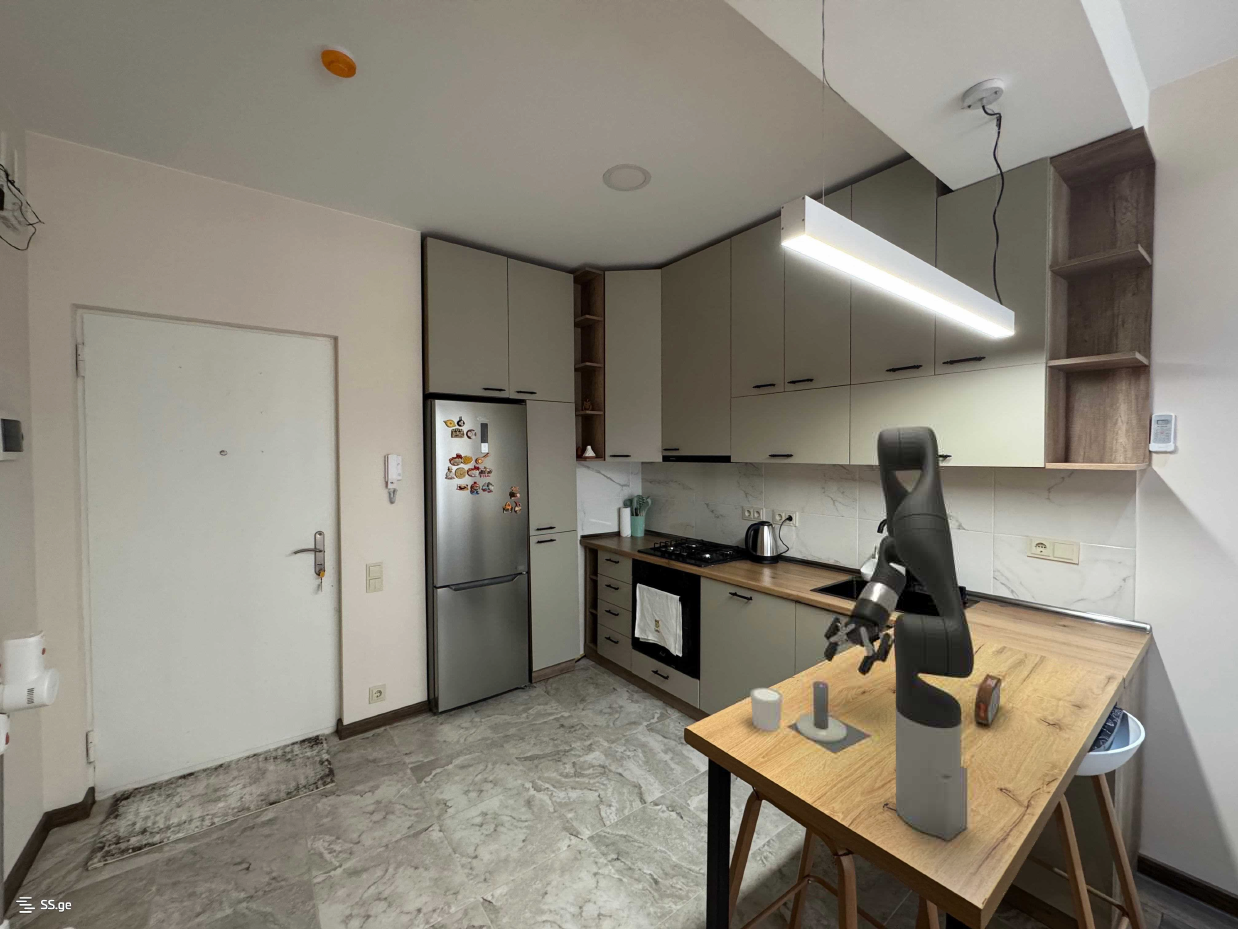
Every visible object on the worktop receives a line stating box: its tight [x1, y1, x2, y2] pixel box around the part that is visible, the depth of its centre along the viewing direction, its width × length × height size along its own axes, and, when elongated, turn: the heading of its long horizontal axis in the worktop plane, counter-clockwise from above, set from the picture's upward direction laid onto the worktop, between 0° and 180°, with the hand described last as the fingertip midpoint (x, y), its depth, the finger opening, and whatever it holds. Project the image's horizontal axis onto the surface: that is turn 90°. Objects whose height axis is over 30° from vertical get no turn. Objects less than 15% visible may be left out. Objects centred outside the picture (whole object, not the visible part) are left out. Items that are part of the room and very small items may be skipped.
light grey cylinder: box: [750, 687, 783, 732], centre depth 112 cm, size 7×7×7 cm
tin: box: [973, 673, 1002, 726], centre depth 115 cm, size 15×3×8 cm, turn 134°
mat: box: [786, 713, 872, 754], centre depth 109 cm, size 12×12×1 cm
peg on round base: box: [796, 680, 846, 743], centre depth 109 cm, size 10×10×10 cm
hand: (843, 666), depth 113 cm, fingers open, 8 cm apart
